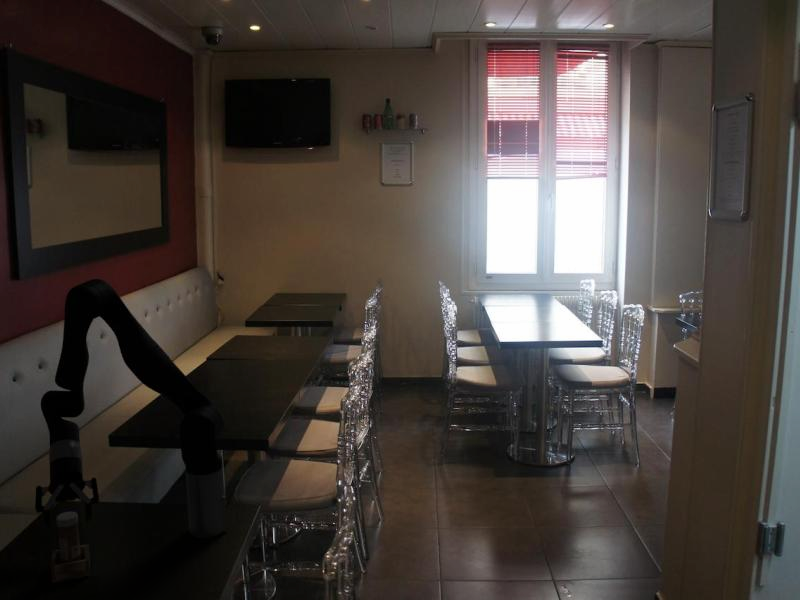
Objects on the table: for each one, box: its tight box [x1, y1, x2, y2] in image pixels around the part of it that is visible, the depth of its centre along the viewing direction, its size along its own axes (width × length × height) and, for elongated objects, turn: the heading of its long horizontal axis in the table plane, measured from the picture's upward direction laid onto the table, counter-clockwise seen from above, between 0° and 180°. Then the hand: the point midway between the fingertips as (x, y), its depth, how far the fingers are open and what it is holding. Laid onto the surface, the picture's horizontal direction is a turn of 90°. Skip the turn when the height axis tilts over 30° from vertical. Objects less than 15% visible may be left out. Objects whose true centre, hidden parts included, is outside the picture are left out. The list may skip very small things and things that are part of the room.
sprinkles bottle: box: [55, 511, 81, 564], centre depth 176 cm, size 5×5×13 cm
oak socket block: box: [50, 543, 91, 584], centre depth 176 cm, size 8×8×4 cm
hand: (68, 523), depth 181 cm, fingers open, 8 cm apart
